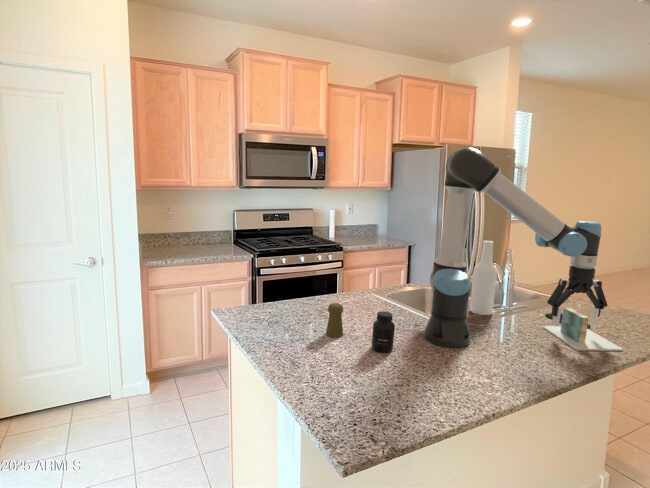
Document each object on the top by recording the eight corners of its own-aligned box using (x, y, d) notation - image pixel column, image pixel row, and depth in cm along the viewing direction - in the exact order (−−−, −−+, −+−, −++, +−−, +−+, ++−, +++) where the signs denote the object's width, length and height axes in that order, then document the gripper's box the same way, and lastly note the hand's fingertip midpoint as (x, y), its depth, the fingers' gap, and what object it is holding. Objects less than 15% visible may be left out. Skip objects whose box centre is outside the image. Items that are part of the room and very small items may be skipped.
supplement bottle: (379, 355, 128) (381, 318, 125) (367, 347, 134) (369, 311, 131) (397, 351, 131) (400, 315, 129) (384, 343, 137) (387, 308, 135)
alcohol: (492, 317, 165) (500, 243, 160) (469, 314, 168) (476, 241, 163) (491, 310, 174) (499, 240, 168) (469, 307, 176) (476, 238, 171)
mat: (576, 350, 136) (576, 348, 136) (542, 327, 156) (542, 326, 156) (623, 350, 137) (623, 349, 137) (583, 328, 157) (583, 326, 157)
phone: (558, 312, 172) (591, 325, 158) (558, 315, 172) (591, 328, 158) (543, 314, 169) (576, 327, 155) (543, 316, 169) (576, 330, 156)
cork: (346, 333, 144) (347, 303, 142) (339, 339, 139) (340, 308, 137) (330, 329, 147) (331, 300, 145) (322, 335, 141) (324, 305, 139)
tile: (560, 331, 151) (563, 307, 150) (566, 331, 151) (570, 308, 150) (578, 342, 141) (581, 317, 140) (584, 342, 142) (588, 317, 140)
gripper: (554, 268, 138) (545, 328, 141) (625, 269, 139) (615, 329, 143) (541, 263, 145) (533, 320, 149) (609, 264, 146) (600, 321, 150)
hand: (574, 325), depth 146 cm, fingers open, 13 cm apart
